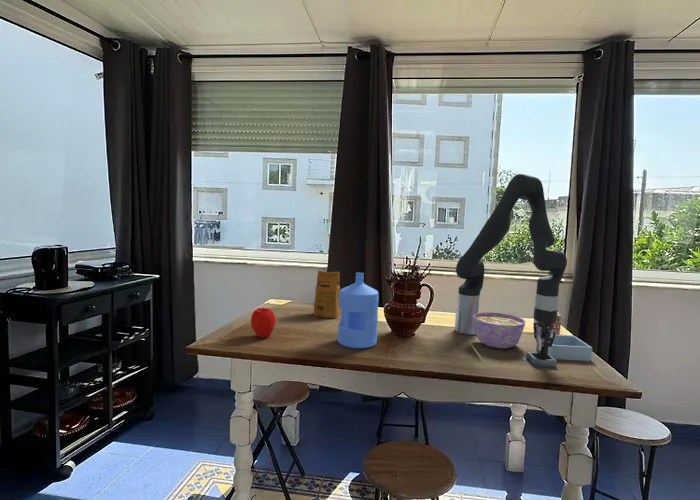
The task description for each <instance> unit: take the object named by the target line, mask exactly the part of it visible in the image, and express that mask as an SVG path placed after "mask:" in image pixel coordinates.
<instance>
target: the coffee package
mask: <svg viewBox="0 0 700 500" xmlns="http://www.w3.org/2000/svg"><path fill="white" fill-rule="evenodd" d="M340 273H341V272H340V271H323V270H321V269H320V270H318V272H317V277H316V286H315V294H314V295H315V296H314V301H313V317H315V318H316V317H318V318H319V317H321V318H324V319H335V318H337V317H338V316H339V315H340V308H339V293H340V290H341V285H340V280H341V279H340Z"/></svg>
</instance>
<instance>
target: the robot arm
mask: <svg viewBox="0 0 700 500" xmlns="http://www.w3.org/2000/svg"><path fill="white" fill-rule="evenodd" d="M519 200H522V201H527V203H528V205H529V206H530V210H531V212H530V213H531V214H530V217H529V223H528V230H529V234H530V237H531V240H532V243H533V250H532V251H533V259H532V261H533V265H534V267H535V268H536V269H537V270H539V271H540V272H541V271H542V272H548V273H547V275H545V276H541V277H539V278H538V279H537V282H536V293H535V298H534V307H533V320H534V319H535V320H537V322H534V321H533V326H534V328H533V334H534V335H533V336H534V340H535V342H536V346H537V345H538V328H539V331H540V339H541V353H540V355H541V356H542V357H547V356H548V347H552V344H553V341H554V338H555V332H552V323H554V322H556V321H557V312H558V311H559V291H560V290H559V289H560V283H561V282H562V279H563V276H564V273H565V271H566V268H567V265H568V259H567V255H566V253H564V252H563V251H560V250H548V249H547V248H549V247H550V248H551V247H552V246H553V245H554V244H555V237H554V233H553V231H552V228H551V224H550V222H549V219H548V214H547V207H546V200H545V192H544V186H543V183H542V181H541V180H540V178H538V177H536V176H532V175H528V174H524V173H518V174H516V175H514V176H513V177H512V178H511V179H510V181H509V182H508V184H507V185H506V188H505V189H504V192H503V193H502V196H501V198H500V200H499V201H498V203H497V205H496V206H495V208H494V209H493V211H492V213H491V214H490V216H489V217H488V219H487V220H486V222H485V223H484V225H483V226H482V228H481V230H480V232H479V233H478V234H477V236H476V237H475V239H474V240H473V242H472V243H471V245H470V246H469V248H468V249H467V250H466V251H465V253H464V254H463V255H462V256H461V257H460V258H459V260H458V262H457V264H456V266H455V273H456V275H457V277H458V278H460V279H463V280H465V281H464V282H463V283H462V284H461V285H459V287H458V291H457V293H458V295H457V306H456V309H455V319H454V331H455V332H456V333H457V334H461V335H468V336H472V335H476V332H475V326H474V320H473V315H474V314H476V313H480V301H481V299H480V298H481V291H482V289H483V286H484V279H485V264H484V261H483V260H482V259H483V258H484V257H485V256H486V254H488V253H490V252H491V251H492V250H493V249H495V248H496V247H497V246H499V245H500V243H502V241H503V239H504V238H505V237H506V235H507V234H508V233H509V231H510V228H511V217H512V215H511V213H512V211H513V209H514V207H515V205H516V204H517V202H518V201H519ZM558 313H559V312H558ZM543 336H546V337H543ZM544 340H545V341H544ZM536 352H537V347H536Z"/></svg>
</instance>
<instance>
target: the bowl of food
mask: <svg viewBox="0 0 700 500" xmlns="http://www.w3.org/2000/svg"><path fill="white" fill-rule="evenodd" d="M473 320H474V326H475V332H476V334H475V335H476V338H477V340H478V341H479V342H480V343H482V344H483V345H484V346H487V347H491V348H495V349H510V348H513V347H515V346H517V344H518V343H519V342H520V339H521V337H522V335H523V331H524V329H525V326H526V322H527V321H526V320H525V319H524V318H522V317H519V316H516V315H513V314H509V313H502V312H496V311H495V312H494V311H492V312H491V311H484V312H479V313H476V314H474V315H473Z"/></svg>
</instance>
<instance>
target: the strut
mask: <svg viewBox="0 0 700 500" xmlns="http://www.w3.org/2000/svg"><path fill="white" fill-rule="evenodd" d="M543 337H546V336H543ZM544 341H545V340H544ZM536 348H537V355H536V356H535V358H536V359H548V358H547V357H542V356H541V355H540V353H541V339H540V331H539V328H538V345H537V344H536Z"/></svg>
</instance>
